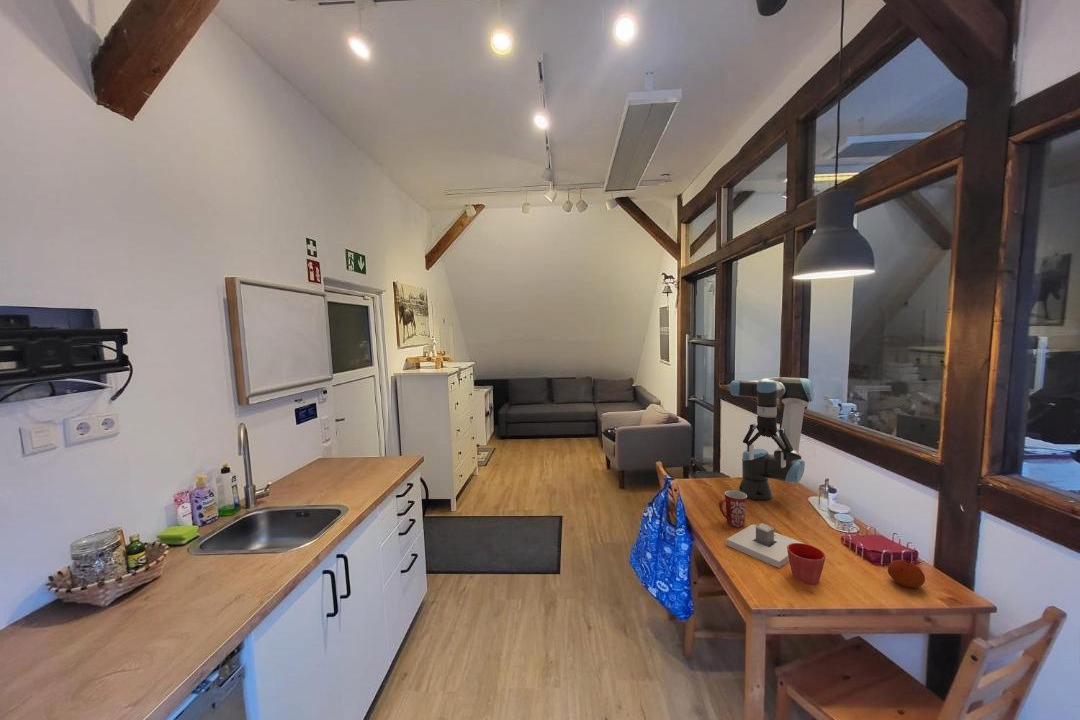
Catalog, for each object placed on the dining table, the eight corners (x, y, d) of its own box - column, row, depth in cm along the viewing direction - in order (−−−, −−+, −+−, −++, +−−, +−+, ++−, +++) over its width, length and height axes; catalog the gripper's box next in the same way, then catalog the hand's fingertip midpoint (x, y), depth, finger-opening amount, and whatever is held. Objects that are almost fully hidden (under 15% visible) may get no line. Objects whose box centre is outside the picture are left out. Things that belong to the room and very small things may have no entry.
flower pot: (826, 591, 130) (826, 563, 129) (786, 581, 136) (786, 554, 135) (824, 574, 139) (824, 547, 138) (787, 565, 145) (787, 539, 144)
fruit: (931, 589, 129) (932, 565, 129) (910, 594, 127) (910, 570, 127) (901, 573, 138) (902, 551, 137) (881, 578, 136) (881, 555, 135)
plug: (762, 542, 160) (762, 522, 160) (773, 547, 156) (774, 527, 156) (755, 545, 158) (755, 526, 158) (767, 550, 154) (767, 530, 154)
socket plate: (752, 529, 171) (752, 523, 171) (804, 549, 155) (804, 542, 154) (726, 545, 160) (726, 538, 160) (779, 568, 143) (779, 561, 143)
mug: (737, 517, 182) (737, 489, 181) (752, 527, 173) (751, 496, 172) (713, 521, 180) (712, 492, 179) (726, 531, 171) (725, 500, 170)
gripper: (734, 412, 183) (734, 458, 184) (794, 421, 162) (793, 472, 164) (743, 410, 187) (743, 454, 188) (802, 418, 166) (802, 468, 168)
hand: (766, 463), depth 176 cm, fingers open, 13 cm apart
